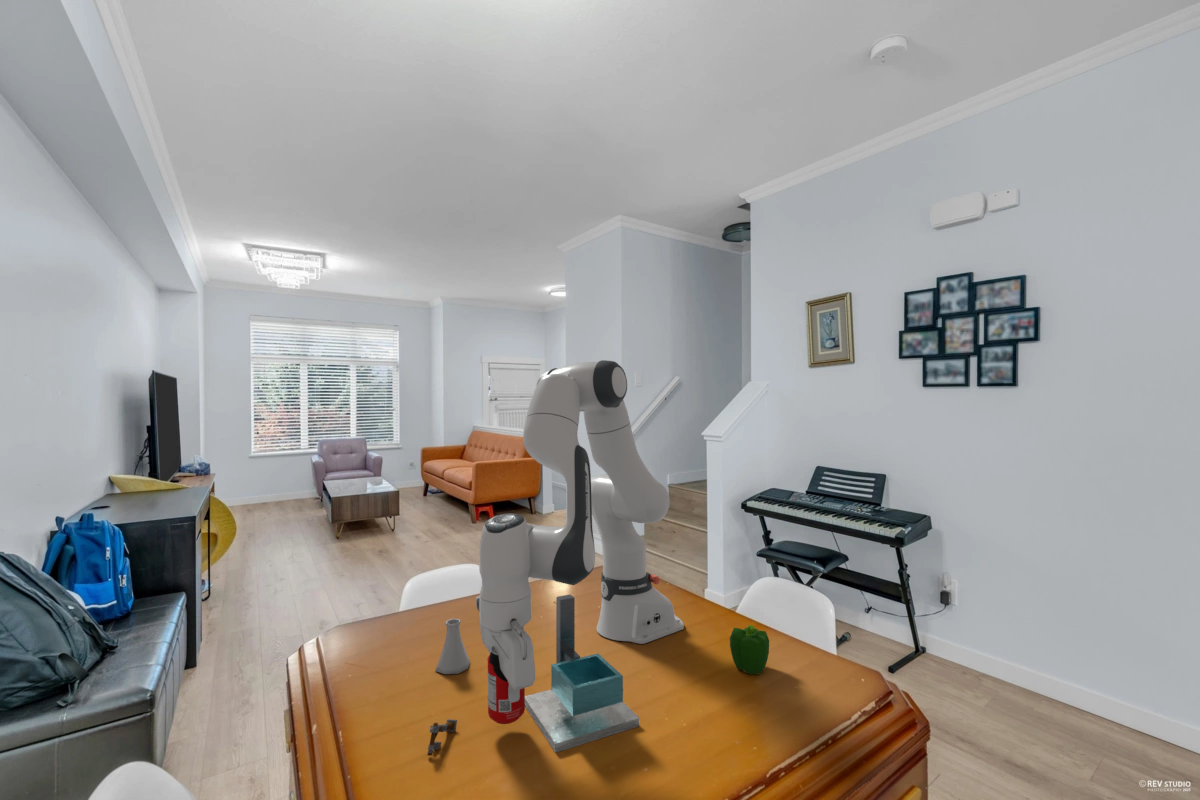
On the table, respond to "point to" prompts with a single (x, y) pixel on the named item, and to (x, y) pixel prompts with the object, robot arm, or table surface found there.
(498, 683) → the beverage can
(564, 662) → the cup bracket stand
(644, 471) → the robot arm
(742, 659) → the bell pepper
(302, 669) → the table surface
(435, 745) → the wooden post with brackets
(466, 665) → the flask
